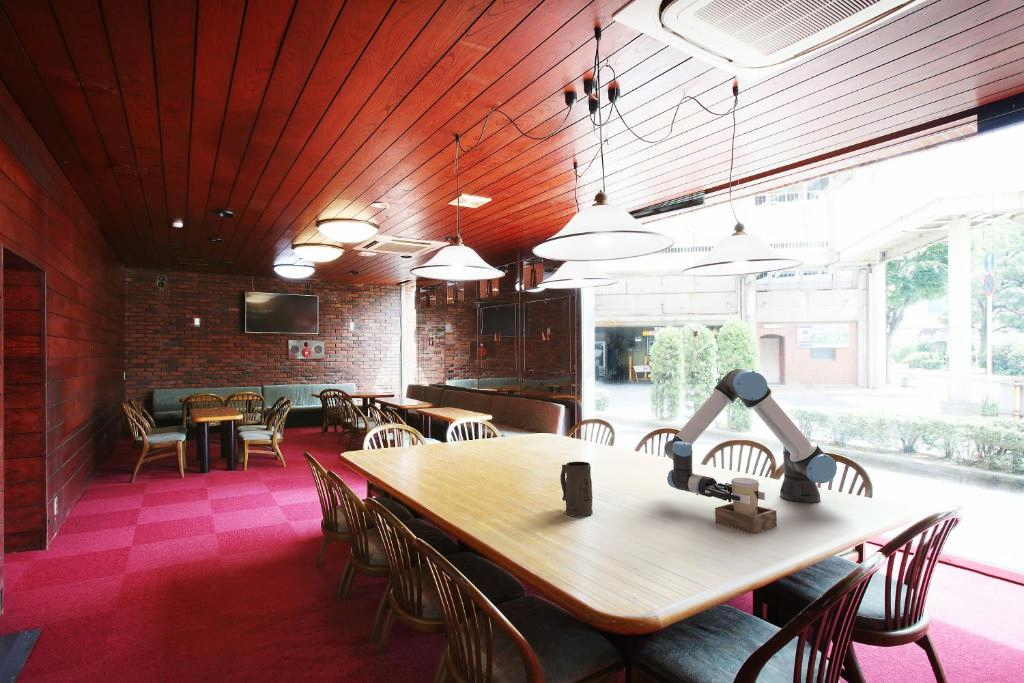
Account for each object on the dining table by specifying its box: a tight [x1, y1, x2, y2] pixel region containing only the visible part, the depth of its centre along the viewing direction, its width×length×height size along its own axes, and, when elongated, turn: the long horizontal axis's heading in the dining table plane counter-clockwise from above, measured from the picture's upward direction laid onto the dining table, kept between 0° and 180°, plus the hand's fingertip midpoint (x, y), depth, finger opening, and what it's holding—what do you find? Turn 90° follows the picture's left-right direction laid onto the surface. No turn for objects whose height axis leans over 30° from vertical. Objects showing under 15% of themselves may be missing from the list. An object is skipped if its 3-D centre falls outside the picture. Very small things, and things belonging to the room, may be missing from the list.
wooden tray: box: [714, 502, 778, 535], centre depth 192 cm, size 15×15×6 cm
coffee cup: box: [730, 477, 760, 516], centre depth 192 cm, size 9×9×12 cm
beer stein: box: [559, 461, 594, 517], centre depth 210 cm, size 15×11×20 cm
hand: (756, 498), depth 188 cm, fingers closed on coffee cup, 8 cm apart
